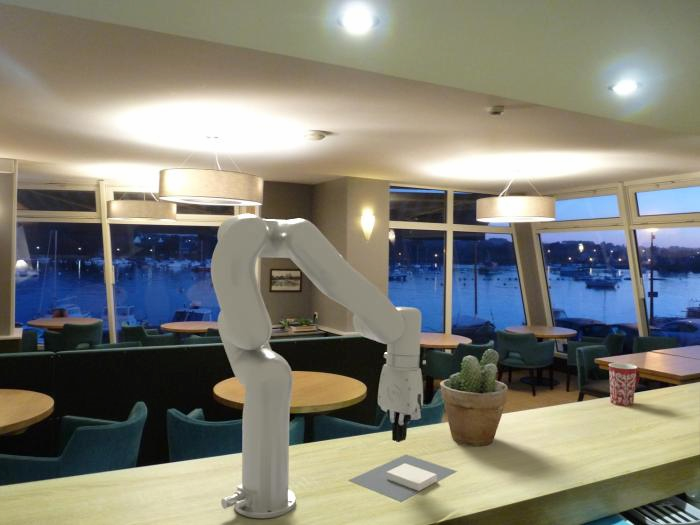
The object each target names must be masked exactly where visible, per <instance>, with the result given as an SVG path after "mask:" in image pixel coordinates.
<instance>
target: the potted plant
mask: <svg viewBox="0 0 700 525" xmlns="http://www.w3.org/2000/svg"><path fill="white" fill-rule="evenodd" d="M482 354H483V355H482V356H481V360H480V361H479V359H478V358H477V357H476V356H474V355H467V356H463V357H462V362H461V363H460V364H461V366H460V368H461V369H460V372H456V373H454V374H451V375H450V376H449V378H448V379H444V380H442V381H441V382H439V386H440V392H441V399H442V401H443V403H444V404H443V405H444V408H445V414H446V418H447V422H448V427H449V430H450V435H451V436H450V437H451V438H452V440H453V441H454V442H455V443H458V444H459V445H464V446H470V447H487V446H490V445H491V444H492V443H493V441H494V438H495V437H496V433H497V430H498V427H499V424H500V422H501V417H502V415H503V412H504V407H505V404H506V403H507V398H508V397H507V396H508V389H509V388H508V386H507V384H505V383H504V382H501V381H498V380H496V377H497V373H498V367H497V366H498V364H499V363H498V361H499V360H500V359H499V358H500V356H499V352H498V351H496V350H494V349H492V348H488V349H486V350H485V351H484V353H482Z"/></svg>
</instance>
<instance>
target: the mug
mask: <svg viewBox="0 0 700 525" xmlns="http://www.w3.org/2000/svg"><path fill="white" fill-rule="evenodd" d="M608 370H609V372H608V373H609V375H608V376H609V394H610V395H609V396H610V397H609V399H610V403H611V404H613V405H616V406H621V407H632V406H634V400H635V391H636V389H637V387H638V385H639V382H640V371H639V369H638V366H636V365H634V364H630V363H624V362H612V363H611V362H610V363H608Z"/></svg>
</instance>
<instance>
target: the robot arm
mask: <svg viewBox="0 0 700 525" xmlns="http://www.w3.org/2000/svg"><path fill="white" fill-rule="evenodd" d="M258 258H272V259H273V258H276V259H277V258H280V259H281V258H283V259H285V258H286V259H290V260H291V261H292V262H293V263H294V264H295V265H296V267H297V268H299V269H300V271H301V272H302V273H303V274H304V275H305V276H306V277H307V279H309V280H310V281H311V282H312V283H313V285H314V286H315V287H316V288H317V289H318V290H319V291H320V292H321V293H322V294H323V295H325V296H326V297H328V298H329V299H330V300H332V301H334V302H336V303H337V304H339V305H342V306H343V307H344V308H347V310H349V311H351V313H353V317H352V325H353V328H354V330H355V331H356V332H357V333H358V334H359V335H360V336H362V337H363V338H367V339H369V340H372V341H376V342H377V343H381V344H384V345H387V347H386V348H387V349H386V352H384V353H383V358H385V359H386V362H385V364H383V365H382V369H381V373H380V378H379V383H378V392H377V404H378V405H379V407H380V409H381V410H382V411H384V412H385V413H387V415H388V416H389V420H390V423H391V424H392V429H391V434H392V436H391V439H392V440H391V441H393V442H394V441H395V442H396V443H400V442H403V441H405V440H406V439H407V434H408V433H407V431H408V424H409V423H410V422H411V421H413V420H416V421H417V420H420V419H421V418H422V415H421V411H422V410H423V405H424V383H423V381H424V380H423V374H422V369H421V368H420V355H421V333H422V313H421V310H420V309H418V308H416V307H410V306H409V307H408V306H395V304H394V303H392V301H390V299H389V298H388V297H387V296H386V295H385V294H384V292H382V291H381V290H380V289H379V288H378V287H377V286H376V285H374V284H373V283H372V282H371V281H370V280H369V279H367V278H366V277H365V276H363V274H361V273H360V272H359V271H357V270H356V269H355V268H354V267H352V265H350V264H349V262H348V261H346V259H345V258H344V257H343V255H341V253H340V252H339V251H338V250H337V249H336V247H334V245H333V244H332V243H331V242H330V241H329V239H328V238H326V236H325V235H324V234H323V233H322V231H321V230H320V229H318V227H317V226H316V225H315V224H314V223H312V222H311V221H310V220H308V219H304V218H293V219H287V220H286V219H265V218H262V217H260V216H258V215H256V214H252V213H241V214H237V215H234V216H230V217H228V218H226V219H225V220H224V221H222V223H221V224H220V225H219V227H218V230H217V243H216V245H215V248H214V251H213V253H212V258H211V262H210V276H211V282H212V285H213V289H214V293H215V296H216V300H217V302H218V306H219V309H220V312H219V314H218V316H217V329H218V333H219V336H220V339H221V342H222V345H223V347H224V350H225V353H226V356H227V359H228V361H229V363H230V366H231V367H230V368H231V369H232V372H233V374H234V376H235V378H236V379H237V381H238V382H239V384H240V385H241V386H242V387H244V400H243V402H244V403H243V409H242V421H241V422H242V426H241V427H242V429H241V430H242V434H241V435H242V437H241V438H242V439H241V440H242V443H241V444H242V449H241V450H242V451H241V453H242V454H241V458H242V460H241V462H242V463H241V484H239V485H237V487H236V489H237V491H235V492H234V493H233V495H228V496H227V497H223V498H222V499H221V501H220V502H221V504H220V505H221V507H222V508H223V509H228V508H230V507H234V510H235V511H236V512H237V513H238V514H240V515H242V516H244V517H247V518H251V519H252V518H253V519H269V518H270V519H271V518H276V517H280V516H283V515H285V514H287V513H289V512H290V511H292V510H293V508H294V507H295V506H296V498H297V497H296V495H295V493H294V492H293V491H292V490H290V489H289V480H290V478H289V476H290V475H289V473H290V472H289V469H290V467H289V464H290V461H289V460H290V408H291V399H292V398H291V397H292V395H293V394H292V392H293V386H294V376H293V371H292V368H291V366H290V365H289V363H288V361H287V360H286V359H285V358H284V357H283V356H282V355H280V354H279V353H277V352H275V351H273V350H272V347H271V344H270V342H269V341H270V338H271V336H272V331H273V325H272V324H273V323H272V320H271V317H270V314H269V312H268V310H267V307H266V304H265V301H264V298H263V296H262V292H261V289H260V286H259V283H258V279H257V274H256V263H257V260H258Z"/></svg>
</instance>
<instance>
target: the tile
mask: <svg viewBox="0 0 700 525" xmlns="http://www.w3.org/2000/svg"><path fill="white" fill-rule="evenodd" d="M386 479H388V480H391V481H394V482H396V483H399V484H401V485H404V486H407V487H409V488H412V489H415V490H417V491H420V490H422V489H423V488H425V487H427V486H429V485H431V484H433V483H434V482H436V481H437V474H434V473H432V472H429V471H426V470H423V469H420V468H417V467H414V466H411V465H408V464H405V463H404V464H402V465H400V466H398V467H396V468H394V469H392V470H390V471H387V476H386ZM436 483H437V482H436ZM433 485H434V484H433ZM431 486H432V485H431ZM429 487H430V486H429ZM427 488H428V487H427ZM422 491H423V490H422ZM420 492H421V491H420Z"/></svg>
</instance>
